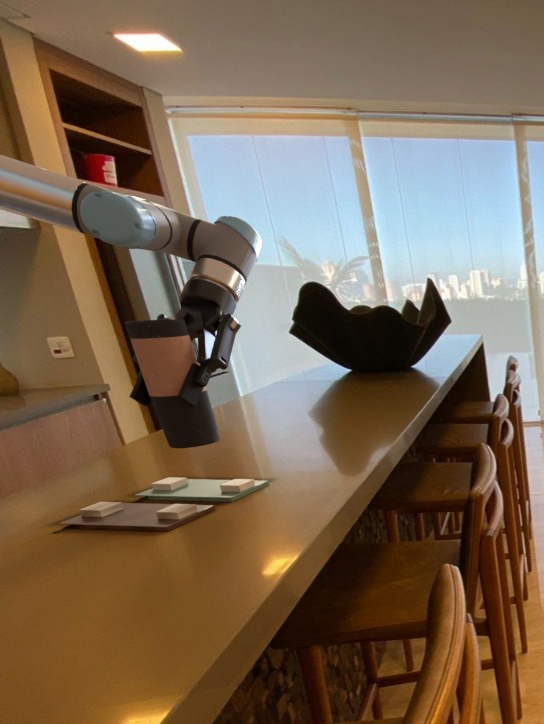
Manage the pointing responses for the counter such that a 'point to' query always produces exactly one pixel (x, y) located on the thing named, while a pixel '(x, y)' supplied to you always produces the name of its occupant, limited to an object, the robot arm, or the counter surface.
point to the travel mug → (172, 381)
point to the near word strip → (136, 516)
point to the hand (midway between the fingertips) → (162, 401)
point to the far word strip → (201, 489)
